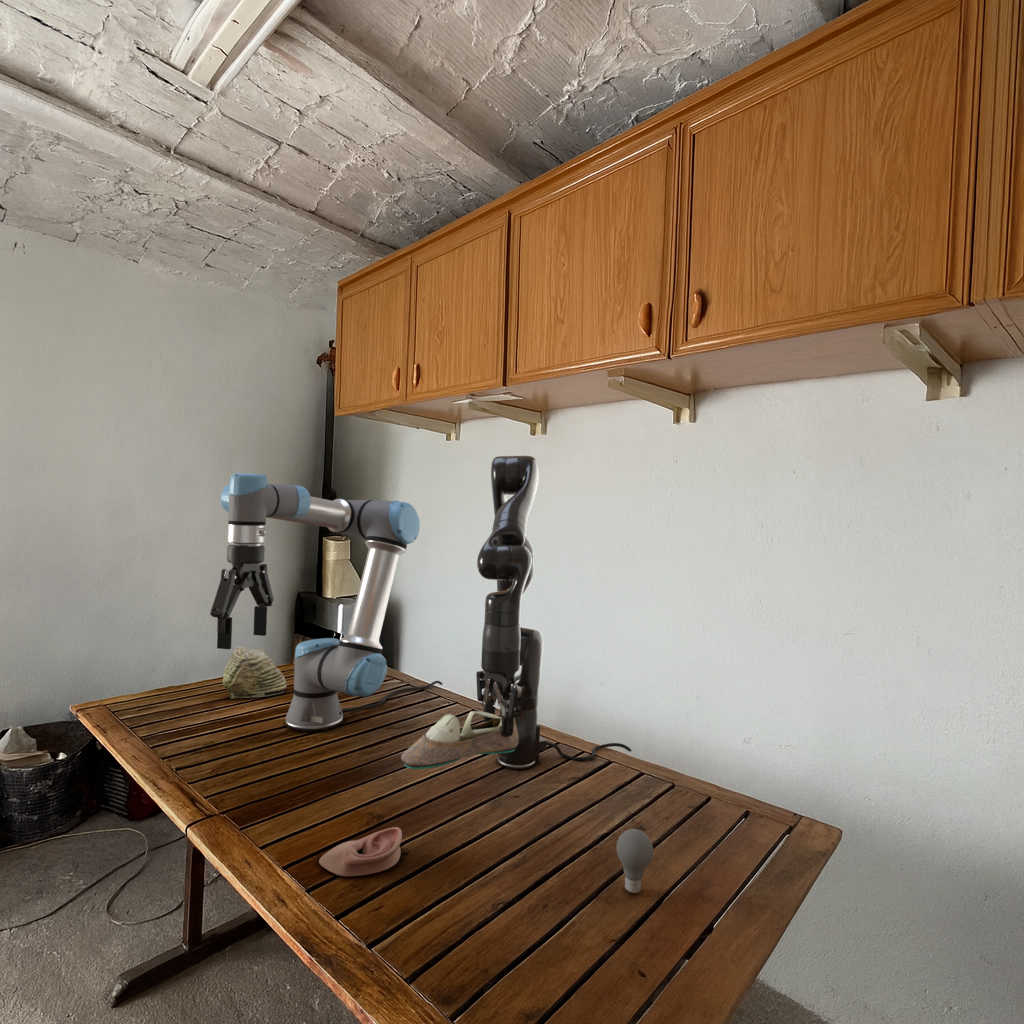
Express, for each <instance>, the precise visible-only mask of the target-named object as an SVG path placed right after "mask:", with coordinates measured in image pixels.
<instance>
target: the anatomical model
mask: <svg viewBox="0 0 1024 1024" xmlns="http://www.w3.org/2000/svg"><path fill="white" fill-rule="evenodd" d="M402 840H403V831H402V829H401V828H400V827H399V826H394V827H389V828H384V829H381V830H379V831H376V832H373V833H371V834H369V835H366V836H364V837H362V838H360V839H357V840H356V839H355V840H349V841H344V842H342V843H340V844H338V845H336V846H334V847H333V848H331V849H330V850H328V851H327V852H325V853H324V854H322V856H321V857H320V858H319V860H318V864H319V865H320V866H321V867H322V868H324V869H325V870H327V871H328V872H330V873H332V874H334V875H336V876H339V877H357V876H358V877H359V876H366V875H371V874H376V873H380V872H383V871H386V870H388V869H390V868H392V867H394V866H396V864H397V863H398V862H399V860H400V858H401V851H402V850H401V847H400V846H401V843H402Z"/></svg>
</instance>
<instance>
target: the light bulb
mask: <svg viewBox="0 0 1024 1024" xmlns="http://www.w3.org/2000/svg"><path fill="white" fill-rule="evenodd" d="M615 849H616V854H617V857H618V859H619V861H620V863H621V865H622V867H623V873H624V874H623V875H624V876H625V878H624V888H625V890H627V891H628V892H630V893H634V894H635V893H639V892H640V891H641V889H642V887H641V886H642V879H643V877H644V875H645V871H646V868H647V867H648V866H649V864H650V863H651V861H652V859H653V855H654V847H653V843H652V841H651V838H649V836H648V835H647V834H646V833H645V832H643V831H642V830H641V829H636V828H629V829H627V830H625V831H623V832H622V833H621V834H620V835H619V837H618V839H617V841H616V847H615Z"/></svg>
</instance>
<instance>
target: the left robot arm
mask: <svg viewBox="0 0 1024 1024" xmlns="http://www.w3.org/2000/svg"><path fill="white" fill-rule="evenodd" d="M219 499H220V504H221V506H222V508H223V509H224V510H225V511H226V512H228V524H227V540H226V541H227V543H228V544H229V545H228V546H227V549H226V561H227V563H230V564H231V568H230V569H229V568H223V569H221V573H220V581H219V583H218V587H217V590H216V594H215V597H214V599H213V603H212V606H211V609H210V612H209V614H210V616H212V618H217V628H216V629H217V630H216V632H217V637H216V638H217V641H216V649H221V650H231V649H232V633H233V617H231V614H232V612H233V610H234V608H235V606H236V603H237V601H238V600H239V597H240V594H241V593H242V592H244V591H245V589H247V588H248V589H249V591H250V593H251V596H252V598H253V600H254V602H255V603H256V606H254V610H253V636H262V637H265V636H267V626H268V624H267V623H268V607H273V602H274V595H273V591H272V587H271V582H270V580H269V579H270V578H269V574H268V564H267V563H263V562H265V551H266V550H265V549H266V547H265V545H263V544H264V543H265V542H266V533H267V531H266V525H267V523H266V522H267V519H273V520H280V521H286V522H292V523H298V524H305V525H311V526H317V527H322V528H323V527H324V528H327V529H328V530H329V531H331V532H333V533H339V534H342V535H346V536H351V537H355V538H358V539H361V540H364V544H365V545H366V547H367V550H368V551H367V555H366V559H365V563H364V567H363V571H362V574H361V578H360V583H359V587H358V590H357V595H356V599H355V602H354V607H353V611H352V614H351V618H350V622H349V627H348V632H347V634H346V635H345V636H344V637H342V638H340V639H338V638H335V637H324V638H323V637H322V638H313V639H308V640H304V641H302V642H299V643H298V644H297V645H296V647H295V652H294V653H295V654H294V657H293V658H294V660H293V662H294V663H293V665H294V666H293V695H292V696H293V697H292V699H291V702H290V704H289V708H288V711H287V713H286V715H285V726H286V728H287V729H289V730H291V731H294V732H295V731H296V732H301V733H316V732H325V731H329V730H332V729H335V728H337V727H339V726H340V725H342V723H343V722H344V714H343V712H350V711H356V710H364V709H371V708H375V707H379V706H382V705H383V704H384V703H385V702H386V701H387V699H388V698H390V697H392V696H394V695H396V694H398V693H401V692H407V691H417V690H425V689H428V688H431V687H432V686H434V685H436V684H439V685H441V686H443V682H442V681H440V680H435V681H433V682H431V683H429V684H427V685H423V686H413V687H404V688H400V689H397V690H394V691H392V692H390V693H388V694H386V695H385V696H384V697H383V699H382V700H381V701H379V702H377V703H373V704H368V705H360V706H359V705H358V706H352V707H346V708H342V706H341V702H340V699H339V695H338V693H340V694H344V695H348V696H350V697H358V698H367V697H370V696H372V695H373V694H374V693H376V692H377V691H378V690H379V689H380V687H382V684H383V683H384V681H385V679H386V675H387V671H388V664H387V660H386V658H385V657H384V655H383V654H382V653H383V650H384V649H383V646H382V645H381V642H380V637H381V633H382V629H383V624H384V621H385V616H386V613H387V608H388V604H389V599H390V595H391V592H392V587H393V583H394V578H395V575H396V570H397V566H398V561H399V558H400V556H401V555H403V554H405V553H406V551H407V547H408V545H410V544H412V543H414V542H415V541H416V540H417V539H418V537H419V533H420V528H421V522H420V517H419V515H418V512H417V510H416V508H415V507H414V506H413V505H412V504H411V503H409V502H406V501H399V500H380V499H379V500H377V499H343V498H336V499H334V500H333V499H332V500H330V499H325V498H321V497H317V496H311V494H310V492H309V491H308V489H307V488H306V487H304V486H302V485H296V484H279V483H278V484H277V483H269V482H268V476H267V475H266V474H262V473H261V474H260V473H244V472H239V473H238V472H236V473H233V474H231V476H230V480H229V484H227V485H225V486H224V487H223V489H222V491H221V493H220V497H219Z"/></svg>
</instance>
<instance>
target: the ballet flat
mask: <svg viewBox="0 0 1024 1024" xmlns="http://www.w3.org/2000/svg"><path fill="white" fill-rule="evenodd" d="M475 715H479V716H483V717H484V716H486V717H490V718H494V719H492V720H489V721H487V722H484V721H483V722H481V723H478V724H474V725H472V720H473V717H474V716H475ZM502 717H503V716H502V715H500V714H499V715H497V714H495V715H494V714H490V713H486V712H484V711H479V710H477V711H476V710H472V711H469V713H468V714H467V717H466V720H465V722H464V724H463V727H461V724H460V720H459V719H458V717H457V716H455V715H453V714H451V713H450V714H449V713H445V714H444V715H443V716H442V717H441V718H440V719H439V720H438V721H437V722H436V723H435V724H434V725H432V726H431V727H430V728H429V729H428V731H425V732H424V733H423V735H422V736H421V737H419V739H417V740H416V741H415V742H414V743H413V744H412V745H411V746H409V748H407V749H406V750H405V751H404V752H402V754H401V756H400V759H401V761H402V763H403V765H404V766H405V768H408V769H410V770H426V769H433V768H439V767H443V766H446V765H449V764H452V763H454V762H457V761H460V760H461V759H462V758H464V757H468V756H471V755H498V754H500V753H509V752H513V751H514V750H515V747H516V746H517V745H518V741H519V740H518V738H519V737H518V732H517V727H516V722H515V718H514V726H513V727H514V728H513V734H512V736H509V737H503V736H502V735H501V733H502Z"/></svg>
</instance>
